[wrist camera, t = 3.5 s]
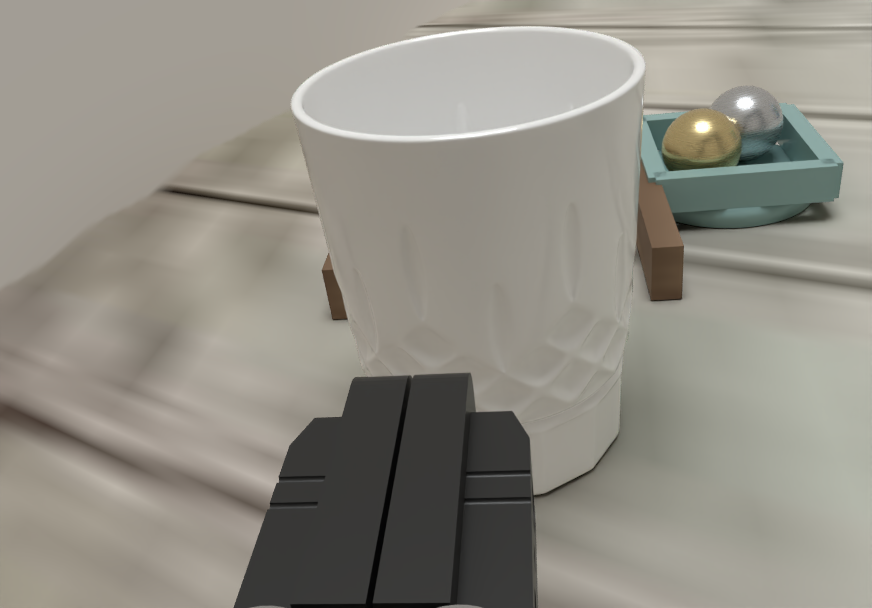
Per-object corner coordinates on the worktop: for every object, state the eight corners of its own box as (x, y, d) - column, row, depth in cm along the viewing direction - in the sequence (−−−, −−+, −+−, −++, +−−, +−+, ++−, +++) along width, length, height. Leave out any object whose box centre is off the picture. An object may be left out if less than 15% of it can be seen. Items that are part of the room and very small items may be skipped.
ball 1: (729, 165, 35) (733, 94, 33) (747, 195, 32) (753, 119, 30) (655, 172, 35) (656, 102, 33) (668, 202, 32) (669, 128, 31)
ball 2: (778, 145, 36) (766, 75, 35) (797, 154, 33) (785, 78, 32) (706, 163, 36) (693, 94, 36) (719, 173, 34) (706, 99, 33)
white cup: (647, 528, 20) (654, 126, 15) (331, 514, 22) (236, 148, 16) (637, 339, 26) (639, 14, 21) (395, 340, 28) (342, 38, 23)
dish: (787, 149, 37) (792, 101, 36) (839, 220, 31) (847, 165, 30) (626, 162, 38) (626, 116, 37) (647, 234, 32) (648, 181, 31)
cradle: (643, 177, 36) (643, 133, 35) (681, 298, 28) (684, 245, 27) (373, 198, 38) (365, 157, 37) (332, 319, 30) (321, 270, 29)
